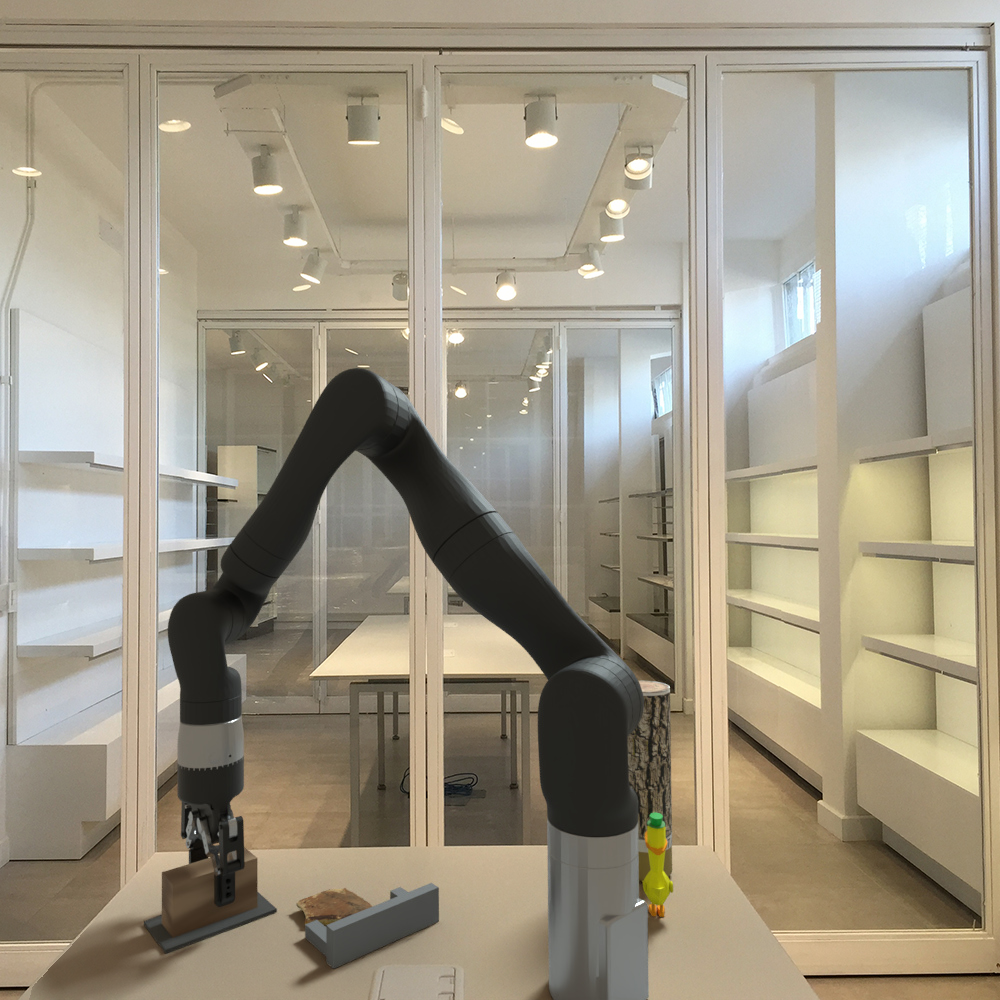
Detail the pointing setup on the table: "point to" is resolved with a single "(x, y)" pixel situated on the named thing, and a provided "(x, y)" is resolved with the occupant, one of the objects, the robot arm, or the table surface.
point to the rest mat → (206, 927)
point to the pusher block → (204, 895)
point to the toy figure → (656, 865)
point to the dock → (375, 925)
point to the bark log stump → (652, 768)
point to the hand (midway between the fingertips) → (211, 890)
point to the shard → (331, 906)
